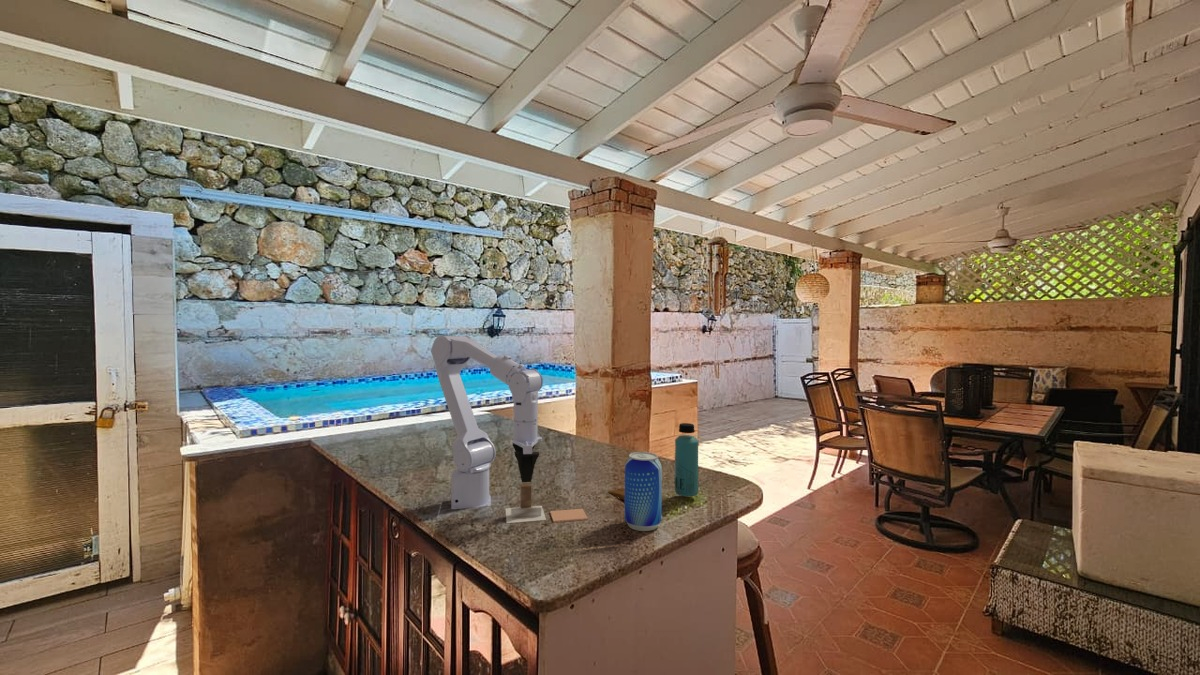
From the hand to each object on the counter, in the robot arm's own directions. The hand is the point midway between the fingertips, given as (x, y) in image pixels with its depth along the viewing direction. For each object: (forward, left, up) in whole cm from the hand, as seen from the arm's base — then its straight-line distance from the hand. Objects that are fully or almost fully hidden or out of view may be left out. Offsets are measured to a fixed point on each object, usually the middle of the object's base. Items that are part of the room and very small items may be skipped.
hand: (525, 476), depth 111 cm
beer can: (+26, -11, -10) cm, 30 cm away
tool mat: (0, 0, -9) cm, 9 cm away
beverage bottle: (+43, +3, -10) cm, 44 cm away
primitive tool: (+28, +4, -10) cm, 30 cm away
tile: (+10, -1, -9) cm, 14 cm away
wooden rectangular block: (0, 0, -9) cm, 9 cm away
